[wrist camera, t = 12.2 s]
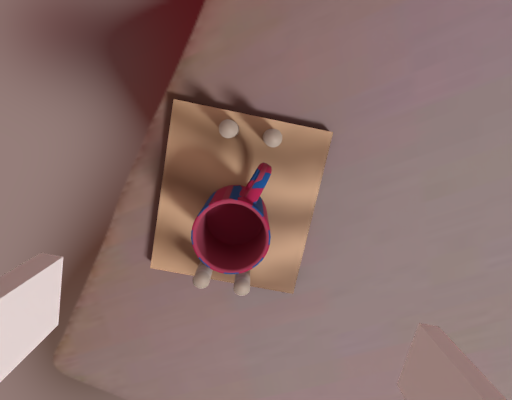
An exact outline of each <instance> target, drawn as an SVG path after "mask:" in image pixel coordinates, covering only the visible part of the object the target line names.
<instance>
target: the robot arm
mask: <svg viewBox="0 0 512 400" xmlns="http://www.w3.org/2000/svg"><path fill="white" fill-rule="evenodd" d="M62 266H63V257H61V256H57V255H51V254H46V253H40V254H38V255H36V256H35V257H33V258H32V259H29V260H28V261H26V262H24V263H22V264H21V265H19V266H17V267H15V268H14V269H12V270H10V271H9V272H7V273H5V274H3V275H2V276H0V382H1V381H2V380H3V379H4V378H5V377H6V376H7V375H8V374H9V373H10V372H11V371H12V370H13V369H14V368H15V367H16V366H17V365H18V364H19V363H20V362H21V361H22V360H23V359H24V358H25V357H26V356H27V355H28V354H29V353H30V352H31V351H32V350H33V349H34V348H35V347H36V346H37V345H38V344H39V343H40V342H41V341H42V340H43V339H44V338H45V337H46V336H47V335H48V334H49V333H50V332H51V331H52V330H53V329H54V328H55V327H56V326H57V325H58V321H59V306H60V294H61V280H62ZM397 385H398V387H399V389H400V391H401V393H402V394H403V396H404V398H405V400H507V399H506V398H505V397H504V396H503V395H502V394H501V393H500V392H499V391H498V390H497V389H496V388H495V387H494V386H493V384H492V383H491V382H490V381H489V380H488V379H487V378H486V377H485V376H484V375H483V374H482V373H481V372H480V370H479V369H478V368H477V367H476V366H475V365H474V364H473V363H472V362H471V361H470V360H469V359H468V358H467V357H466V355H465V354H464V353H463V352H462V351H461V350H460V349H459V348H458V347H457V346H456V345H455V344H454V343H453V341H452V340H451V339H450V338H449V337H448V336H447V335H446V334H445V333H444V332H443V331H442V330H441V329H440V328H439V327H437V326H432V325H427V324H421V323H419V325H418V328H417V331H416V333H415V336H414V339H413V342H412V344H411V347H410V350H409V353H408V355H407V358H406V361H405V364H404V366H403V369H402V372H401V374H400V377H399V380H398V383H397Z"/></svg>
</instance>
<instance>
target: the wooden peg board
mask: <svg viewBox="0 0 512 400" xmlns="http://www.w3.org/2000/svg"><path fill="white" fill-rule="evenodd" d="M332 135H333V132H330V131H325V130H320V129H315V128H310V127H306V126H301V125H296V124H291V123H286V122H282V121H277V120H272V119H267V118H262V117H258V116H253V115H248V114H243V113H238V112H234V111H229V110H224V109H219V108H214V107H210V106H205V105H200V104H195V103H190V102H186V101H181V100H176V99H173V106H172V114H171V121H170V128H169V136H168V143H167V150H166V157H165V165H164V172H163V179H162V186H161V194H160V201H159V208H158V216H157V223H156V230H155V237H154V245H153V252H152V259H151V266H150V268H153V269H159V270H164V271H170V272H175V273H181V274H186V275H192V276H194V277H193V284H194V285H195V286H196V287H197V288H201V289H202V288H205V287H207V286H208V285H209V282H210V279H214V280H220V281H225V282H231V283H234V292H235V293H236V294H237V295H240V296H244V295H246V294H248V293H249V291H250V286H253V287H258V288H264V289H270V290H275V291H281V292H286V293H292V294H293V292H294V288H295V284H296V280H297V276H298V271H299V267H300V263H301V259H302V255H303V251H304V247H305V243H306V239H307V235H308V231H309V227H310V223H311V219H312V215H313V211H314V207H315V203H316V199H317V195H318V191H319V187H320V183H321V179H322V175H323V171H324V167H325V163H326V159H327V155H328V151H329V147H330V143H331V139H332ZM263 162H264V163H267V164H268V165H270V166H271V167H272V172H271V175H270V178H269V180H268V182H267V184H266V186H265V188H264V190H263V191H262V193H261V195H260V197H261V198H262V200H263V202H264V204H265V206H266V209H267V215H268V221H269V227H270V235H271V239H270V246H269V249H268V252H267V254H266V256H265V257H264V258H263V260H262V261H261V262H260V263H259V264H258V265H257V266H255V267H254V268H253V269H251V270H249V271H246V272H243V273H240V274H224V273H219V272H217V271H214V270H212V269H210V268H209V267H207V266H206V265H205V264H204V263H202V262H201V260H200V259H199V258H198V257H197V255H196V253H195V252H194V249H193V246H192V241H191V231H192V226H193V223H194V221H195V219H196V217H197V215H198V214H199V212H200V211H201V209H202V208H203V206H204V205H205V203H206V202H207V200H208V199H209V197H210V196H211V195H212V194H213V193H214V192H215V191H217V190H218V189H220V188H222V187H225V186H229V185H241V186H245V187H246V186H247V184H248V182H249V181H250V179H251V178H252V176H253V174H254V173H255V171H256V169H257V168H258V166H259V165H260V164H261V163H263Z"/></svg>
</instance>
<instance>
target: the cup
mask: <svg viewBox="0 0 512 400" xmlns="http://www.w3.org/2000/svg"><path fill="white" fill-rule="evenodd" d="M271 172H272V167H271V166H270V165H268V164H267V163H264V162H263V163H261V164H260V165H259V166H258V168H257V169H256V171H255V173H254V174H253V176H252V178H251V179H250V181H249V182H248V184H247V186H246V187H245V186H241V185H229V186H225V187H222V188H220V189H218V190H217V191H215V192H214V193H213V194H212V195H211V196H210V197H209V199H208V200H207V202H206V203H205V205H204V206H203V208H202V209H201V211H200V212H199V214H198V215H197V217H196V219H195V221H194V223H193V226H192V231H191V241H192V246H193V249H194V252H195V253H196V255H197V257H198V258H199V259H200V260H201V262H202V263H204V264H205V265H206V266H207V267H209V268H210V269H212V270H214V271H217V272H219V273H224V274H240V273H243V272H246V271H249V270H251V269H253V268H254V267H255V266H257V265H258V264H259V263H260V262H261V261H262V260H263V258H264V257H265V256H266V254H267V252H268V249H269V246H270V239H271V235H270V227H269V221H268V215H267V209H266V206H265V204H264V202H263V200H262V198H261V197H260V195H261V193H262V191H263V190H264V188H265V186H266V184H267V182H268V180H269V178H270V175H271Z"/></svg>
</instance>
